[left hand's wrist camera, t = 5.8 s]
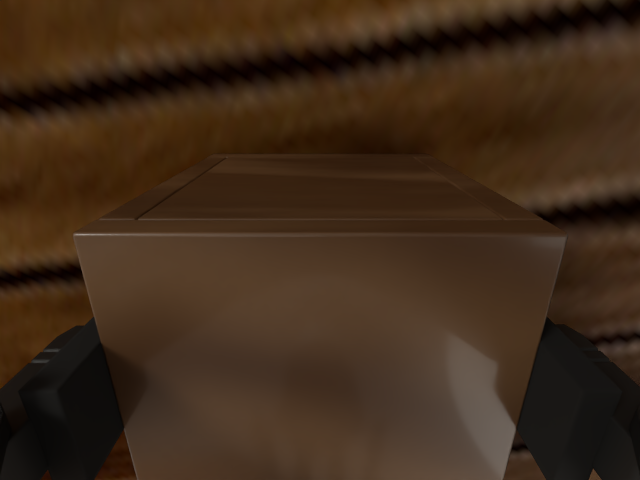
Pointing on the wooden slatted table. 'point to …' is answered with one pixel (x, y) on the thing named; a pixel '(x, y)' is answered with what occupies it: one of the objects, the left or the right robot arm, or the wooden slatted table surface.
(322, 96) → the wooden slatted table surface
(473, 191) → the cabinet
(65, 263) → the wooden slatted table surface
